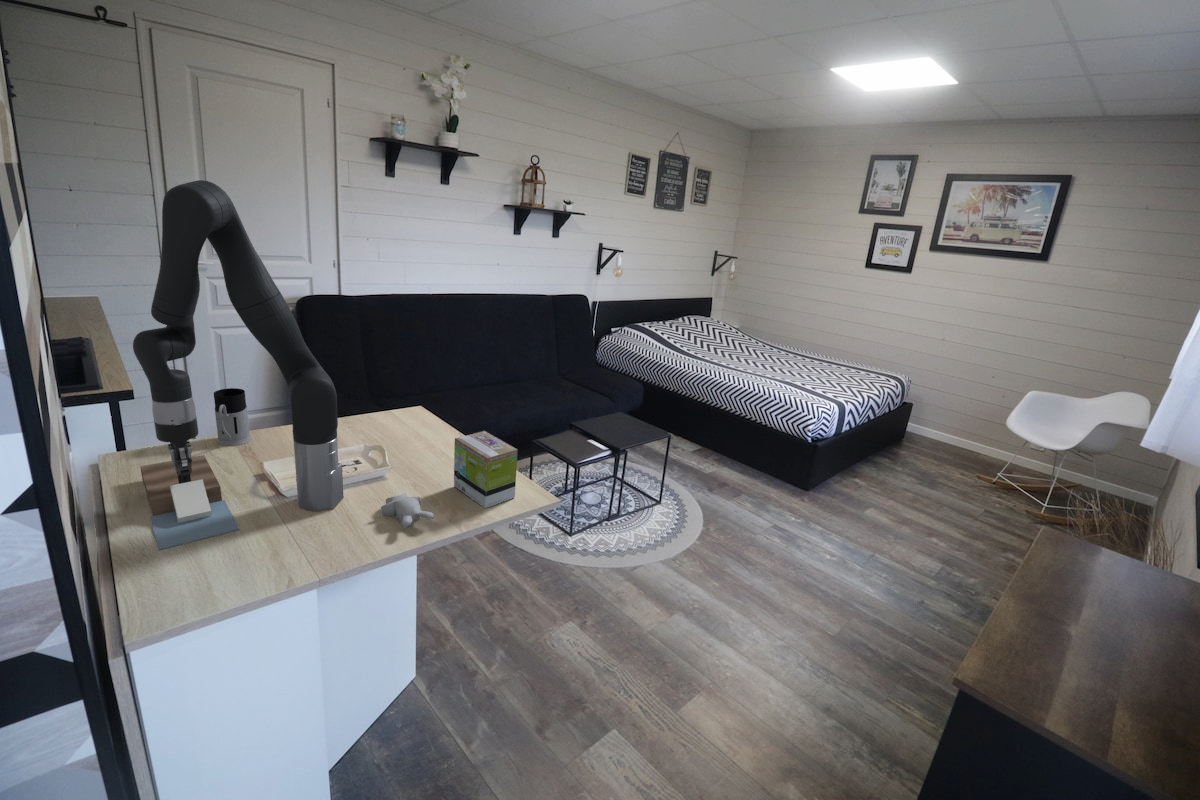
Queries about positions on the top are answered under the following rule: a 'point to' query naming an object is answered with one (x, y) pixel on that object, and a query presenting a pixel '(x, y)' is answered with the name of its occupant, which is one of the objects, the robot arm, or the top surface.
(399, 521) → the grey animal figure
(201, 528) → the mat
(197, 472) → the deck
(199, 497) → the white rectangular block
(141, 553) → the top surface
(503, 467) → the tea box
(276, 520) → the top surface
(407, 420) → the top surface
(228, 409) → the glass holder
